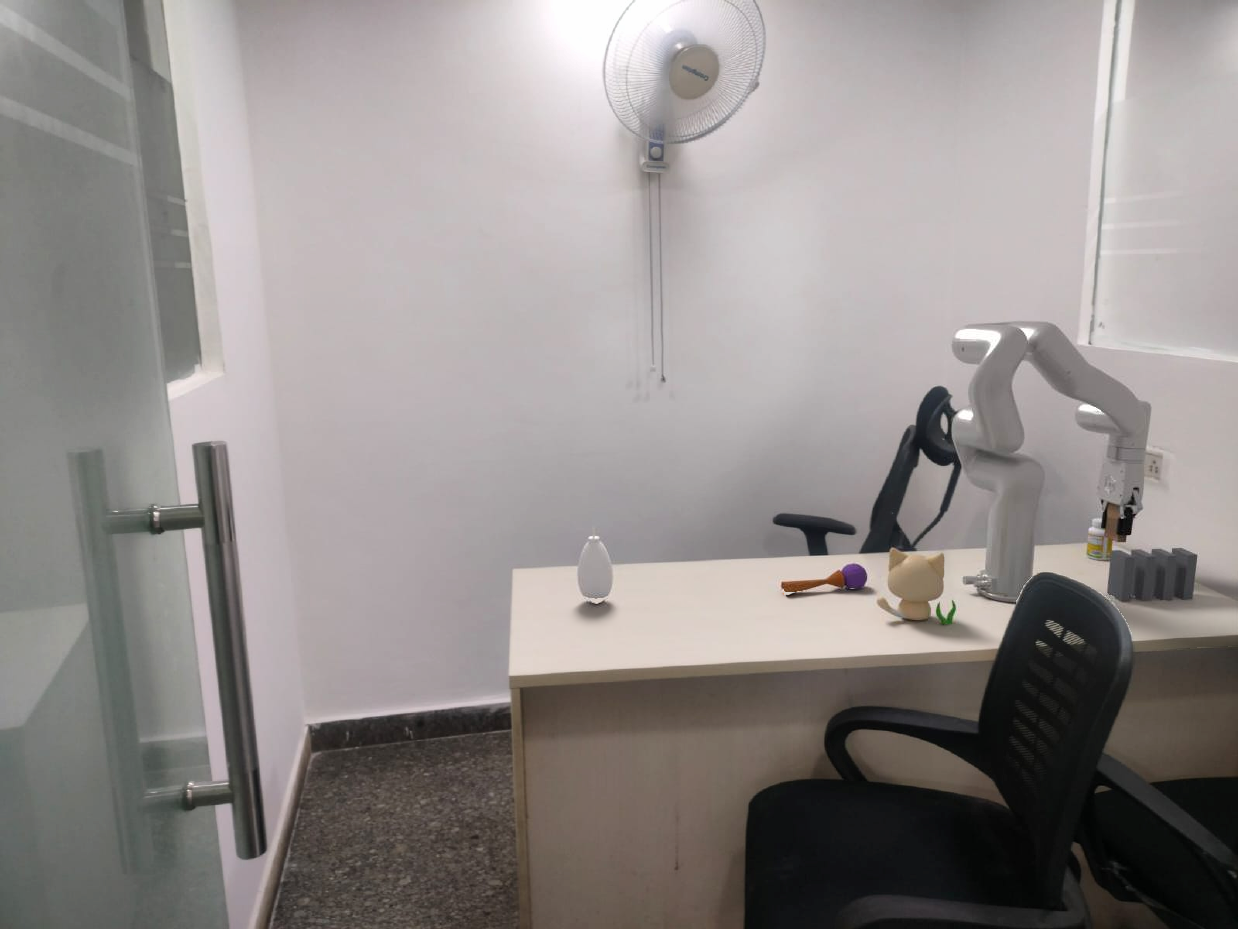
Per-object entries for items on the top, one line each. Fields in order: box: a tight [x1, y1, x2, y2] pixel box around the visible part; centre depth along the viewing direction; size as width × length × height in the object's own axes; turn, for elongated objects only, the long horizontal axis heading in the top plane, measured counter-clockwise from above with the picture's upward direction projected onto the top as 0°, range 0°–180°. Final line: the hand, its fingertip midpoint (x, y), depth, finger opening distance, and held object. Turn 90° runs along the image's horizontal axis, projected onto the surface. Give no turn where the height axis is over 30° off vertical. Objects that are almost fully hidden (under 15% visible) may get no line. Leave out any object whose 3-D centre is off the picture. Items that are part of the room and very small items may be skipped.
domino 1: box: [1104, 502, 1131, 543], centre depth 189 cm, size 2×5×10 cm, turn 1°
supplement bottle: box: [1086, 517, 1113, 562], centre depth 204 cm, size 5×5×10 cm
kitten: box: [876, 547, 957, 626], centre depth 169 cm, size 15×10×15 cm, turn 64°
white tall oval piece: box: [577, 525, 614, 599], centre depth 182 cm, size 8×8×18 cm
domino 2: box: [1106, 549, 1135, 603], centre depth 177 cm, size 2×5×10 cm, turn 1°
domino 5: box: [1171, 547, 1198, 601], centre depth 177 cm, size 2×5×10 cm, turn 1°
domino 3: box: [1130, 549, 1156, 602], centre depth 177 cm, size 2×5×10 cm, turn 1°
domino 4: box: [1150, 548, 1177, 601], centre depth 177 cm, size 2×5×10 cm, turn 1°
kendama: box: [780, 562, 868, 592], centre depth 187 cm, size 6×6×20 cm
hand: (1115, 530), depth 189 cm, fingers closed on domino 1, 4 cm apart
